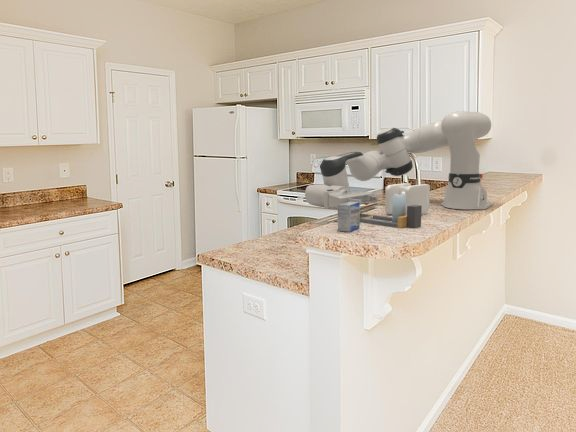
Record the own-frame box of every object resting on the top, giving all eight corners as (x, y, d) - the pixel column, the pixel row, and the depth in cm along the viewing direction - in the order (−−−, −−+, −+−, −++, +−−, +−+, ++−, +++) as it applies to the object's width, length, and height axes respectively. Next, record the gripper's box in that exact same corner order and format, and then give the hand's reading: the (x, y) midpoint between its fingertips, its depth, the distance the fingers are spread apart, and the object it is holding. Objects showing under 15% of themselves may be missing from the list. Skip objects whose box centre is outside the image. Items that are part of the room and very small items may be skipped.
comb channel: (375, 218, 170) (375, 199, 169) (425, 225, 156) (426, 204, 155) (358, 221, 163) (358, 202, 162) (409, 229, 149) (410, 207, 148)
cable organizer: (406, 218, 169) (407, 186, 167) (383, 215, 177) (384, 184, 175) (429, 213, 179) (430, 183, 177) (406, 210, 187) (407, 182, 185)
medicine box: (349, 232, 146) (350, 205, 144) (337, 231, 148) (337, 204, 147) (359, 228, 152) (360, 202, 151) (347, 226, 155) (347, 201, 153)
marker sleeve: (396, 222, 161) (397, 194, 159) (407, 224, 157) (408, 195, 156) (389, 224, 158) (390, 195, 156) (400, 226, 154) (401, 196, 153)
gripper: (356, 202, 182) (385, 206, 173) (321, 208, 168) (351, 213, 159) (356, 187, 181) (386, 189, 172) (321, 191, 167) (351, 194, 158)
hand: (369, 200), depth 165 cm, fingers open, 8 cm apart
